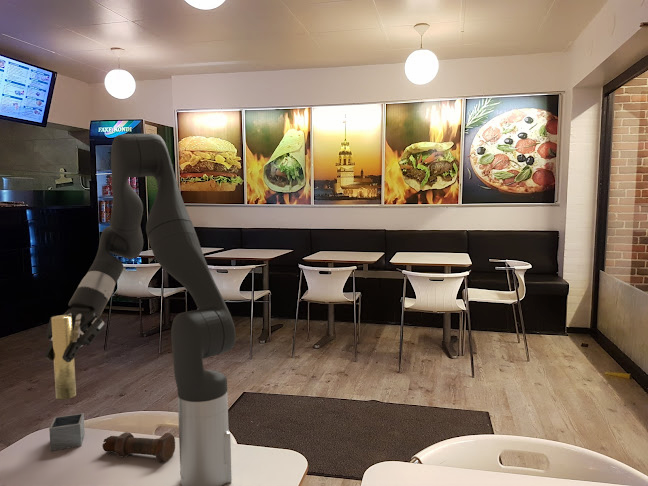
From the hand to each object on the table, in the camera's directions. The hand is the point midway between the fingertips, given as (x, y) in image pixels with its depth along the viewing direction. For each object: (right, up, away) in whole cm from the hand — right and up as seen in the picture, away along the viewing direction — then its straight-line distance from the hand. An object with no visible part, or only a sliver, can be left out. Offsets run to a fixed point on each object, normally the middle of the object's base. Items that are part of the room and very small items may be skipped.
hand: (57, 359), depth 105 cm
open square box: (+1, -19, +3) cm, 20 cm away
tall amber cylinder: (+1, -9, +3) cm, 9 cm away
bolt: (+19, -20, -2) cm, 28 cm away
